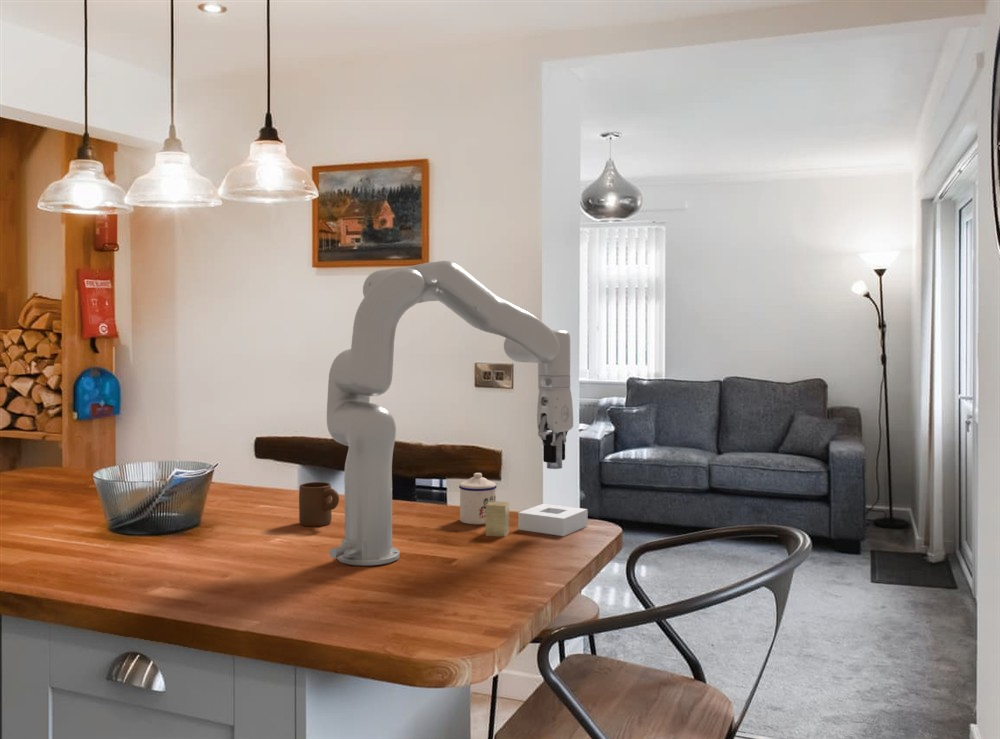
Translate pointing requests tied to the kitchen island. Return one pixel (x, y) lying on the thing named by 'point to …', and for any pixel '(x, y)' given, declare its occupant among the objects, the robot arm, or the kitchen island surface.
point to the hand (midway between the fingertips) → (554, 460)
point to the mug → (316, 503)
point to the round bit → (557, 452)
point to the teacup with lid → (476, 499)
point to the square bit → (497, 518)
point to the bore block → (552, 519)
